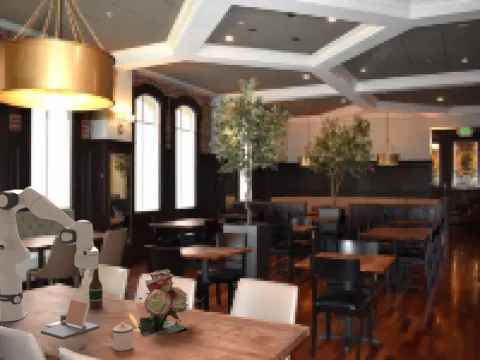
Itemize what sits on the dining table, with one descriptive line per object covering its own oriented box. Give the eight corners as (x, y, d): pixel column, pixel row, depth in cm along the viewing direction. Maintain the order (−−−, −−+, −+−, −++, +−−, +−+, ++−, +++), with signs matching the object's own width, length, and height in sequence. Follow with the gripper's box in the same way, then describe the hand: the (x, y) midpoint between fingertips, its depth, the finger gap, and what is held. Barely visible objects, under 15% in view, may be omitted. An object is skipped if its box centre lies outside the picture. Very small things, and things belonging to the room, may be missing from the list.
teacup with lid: (137, 346, 228) (137, 321, 228) (123, 352, 220) (123, 326, 220) (118, 342, 234) (117, 317, 234) (103, 348, 226) (103, 322, 226)
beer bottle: (89, 308, 295) (88, 268, 295) (89, 305, 302) (88, 266, 302) (102, 307, 297) (102, 267, 297) (102, 304, 305) (102, 265, 304)
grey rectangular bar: (72, 318, 275) (72, 311, 275) (77, 320, 272) (77, 313, 272) (46, 326, 262) (46, 318, 262) (52, 327, 259) (51, 320, 259)
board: (41, 332, 251) (40, 326, 251) (77, 321, 269) (77, 316, 269) (63, 338, 240) (62, 333, 240) (99, 327, 258) (99, 321, 258)
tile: (73, 299, 264) (70, 299, 263) (90, 303, 256) (87, 302, 255) (66, 322, 261) (64, 322, 260) (83, 327, 253) (81, 326, 252)
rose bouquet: (145, 339, 238) (144, 277, 238) (134, 323, 265) (133, 267, 265) (196, 332, 248) (195, 272, 248) (180, 317, 275) (180, 263, 275)
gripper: (70, 250, 270) (71, 275, 270) (89, 252, 256) (90, 279, 256) (81, 248, 275) (82, 273, 275) (100, 251, 260) (101, 277, 260)
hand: (86, 276), depth 265 cm, fingers open, 8 cm apart
